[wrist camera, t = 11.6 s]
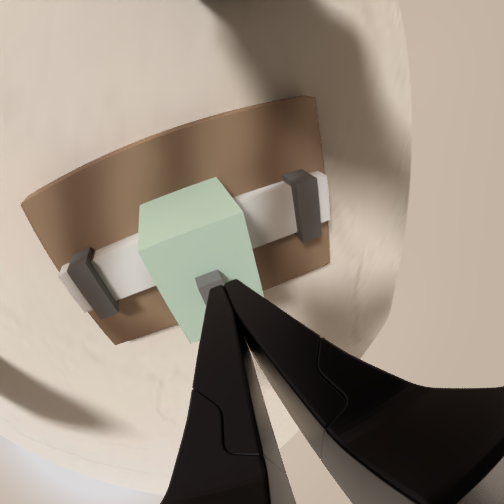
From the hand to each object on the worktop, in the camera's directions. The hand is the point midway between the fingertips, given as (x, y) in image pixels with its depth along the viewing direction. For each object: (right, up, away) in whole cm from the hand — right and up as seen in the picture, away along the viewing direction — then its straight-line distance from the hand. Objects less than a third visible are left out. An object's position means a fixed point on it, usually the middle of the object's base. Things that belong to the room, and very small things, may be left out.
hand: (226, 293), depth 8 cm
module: (-3, +2, +10) cm, 11 cm away
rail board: (-4, +3, +11) cm, 12 cm away
